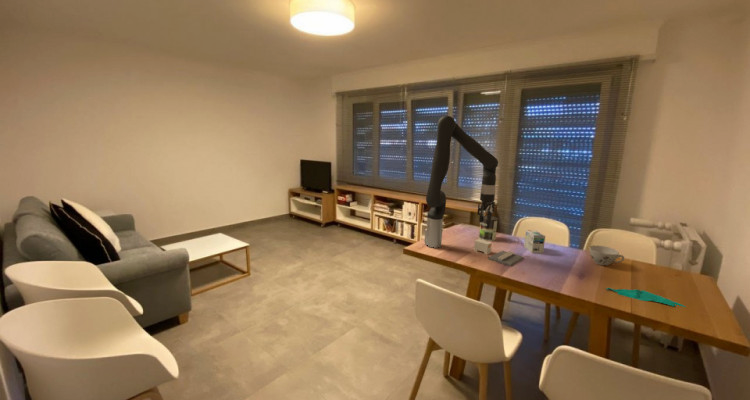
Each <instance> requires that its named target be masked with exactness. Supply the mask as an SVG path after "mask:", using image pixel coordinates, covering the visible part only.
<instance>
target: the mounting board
mask: <svg viewBox="0 0 750 400" xmlns="http://www.w3.org/2000/svg"><path fill="white" fill-rule="evenodd" d="M507 252H508V251H505V250H501V251H499V252H496V253H495V254H493V255H490V256H488V258H487V259H488V260H490V261H491V262H495V263H498V264H502V265H505V266H508V267H512V266H514V265H516V264H517V263H519V262H520V261H522V260H524V259H525V256H522V255H518V254H516V253H514V255H512V256H510V257H508V258H507V259H505V260H503V261H500V260H498V258H497V257H499V256H501V255H503V254H505V253H507Z"/></svg>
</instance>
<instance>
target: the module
mask: <svg viewBox="0 0 750 400" xmlns="http://www.w3.org/2000/svg"><path fill="white" fill-rule="evenodd" d="M492 246H493V245H492V241H485V240H481V239H480V238H478V239H476V240H474V245H473V251H474V252H478V251H479V252H483V254H484V255H486V254H487V255H489V254H491V253H492Z"/></svg>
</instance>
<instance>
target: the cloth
mask: <svg viewBox="0 0 750 400" xmlns="http://www.w3.org/2000/svg"><path fill="white" fill-rule="evenodd" d="M605 290H610V291H613V292H614V293H617V295H619V296H623V297H627V298H630V299H634V300H638V301H643V302H649V301H652V302H656V303H661V304H662V303H663V304H664V305H666V304H667V306H672V307H673V308H675V307H674V306H676V307H677V305H679V307H682V306H683V308H686V305H683V304H681V303H679V302H676V301H673V300H671V299H669V298H665V297H663V296H661V295H658V294H654V293H652V292H649V291H646V290H644V289H643V290H640V289H627V288H626V289H625V288H619V289H616V288H611V287H607V288H605ZM675 304H676V305H675Z"/></svg>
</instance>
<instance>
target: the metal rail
mask: <svg viewBox="0 0 750 400" xmlns="http://www.w3.org/2000/svg"><path fill="white" fill-rule="evenodd" d="M506 252H507V253H505V254H503V255H501V256H499V257H497V258H498V260H500V261H503V260H505V259H507V258H508V257H510V256H512V255H514V254H515V252H513V251H506Z"/></svg>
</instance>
